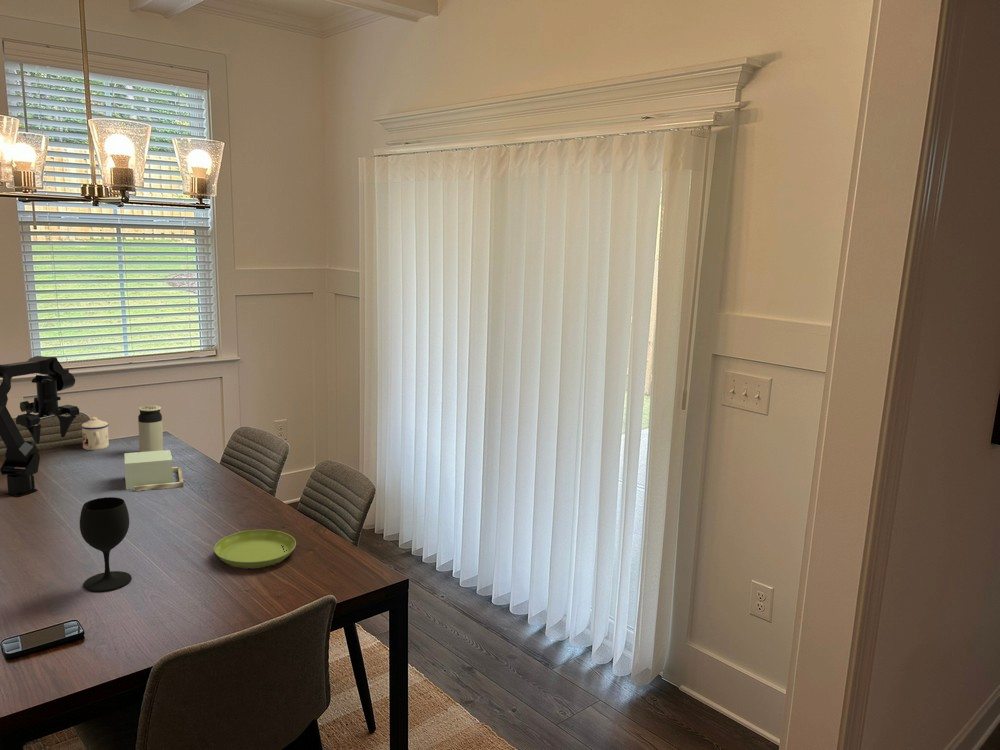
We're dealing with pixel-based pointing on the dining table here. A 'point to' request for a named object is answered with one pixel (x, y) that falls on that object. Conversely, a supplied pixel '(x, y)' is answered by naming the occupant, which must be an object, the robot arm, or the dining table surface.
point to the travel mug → (150, 429)
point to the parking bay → (164, 485)
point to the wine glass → (105, 538)
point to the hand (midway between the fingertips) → (50, 440)
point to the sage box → (148, 468)
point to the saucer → (255, 548)
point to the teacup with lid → (95, 434)
